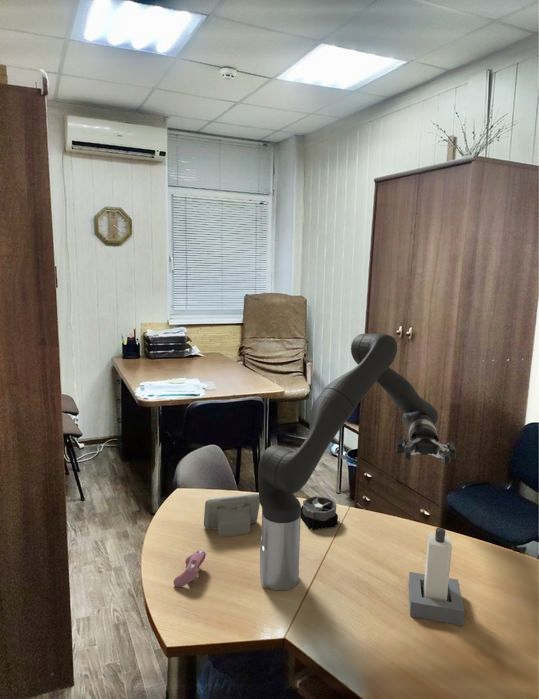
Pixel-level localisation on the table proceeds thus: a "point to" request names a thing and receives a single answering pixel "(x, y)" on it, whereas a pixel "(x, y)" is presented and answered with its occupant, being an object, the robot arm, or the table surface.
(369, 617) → the table surface
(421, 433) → the robot arm
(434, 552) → the plug
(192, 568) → the pink curved piece
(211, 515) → the digital clock
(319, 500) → the cpu cooler
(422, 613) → the socket
